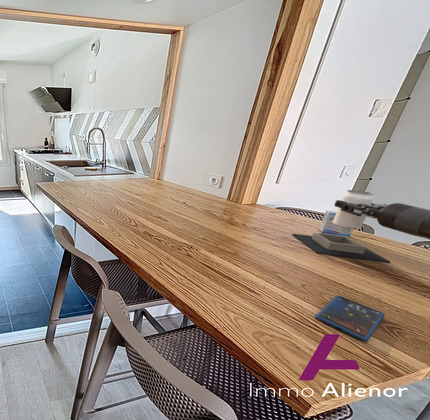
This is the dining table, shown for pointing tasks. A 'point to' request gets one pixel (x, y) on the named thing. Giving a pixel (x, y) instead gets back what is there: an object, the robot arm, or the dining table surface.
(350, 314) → the smartphone
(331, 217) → the medicine box
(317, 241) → the pad
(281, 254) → the dining table surface
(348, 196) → the can
